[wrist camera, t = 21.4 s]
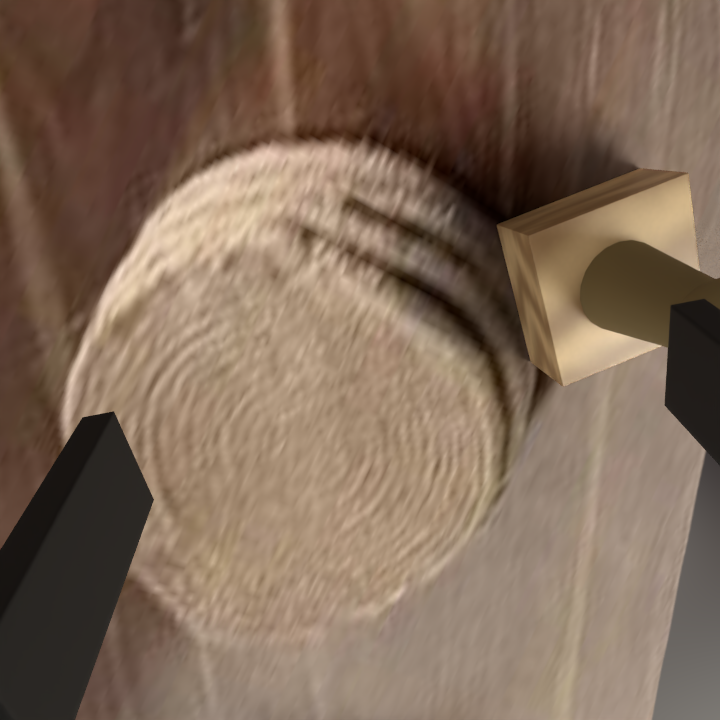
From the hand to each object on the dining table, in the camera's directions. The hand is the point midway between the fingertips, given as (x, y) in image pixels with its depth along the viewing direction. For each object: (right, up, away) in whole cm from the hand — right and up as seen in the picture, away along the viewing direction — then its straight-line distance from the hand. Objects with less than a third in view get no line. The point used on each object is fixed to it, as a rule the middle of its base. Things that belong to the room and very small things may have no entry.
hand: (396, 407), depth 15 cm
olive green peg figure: (+16, +6, +26) cm, 31 cm away
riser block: (+15, +8, +30) cm, 35 cm away
